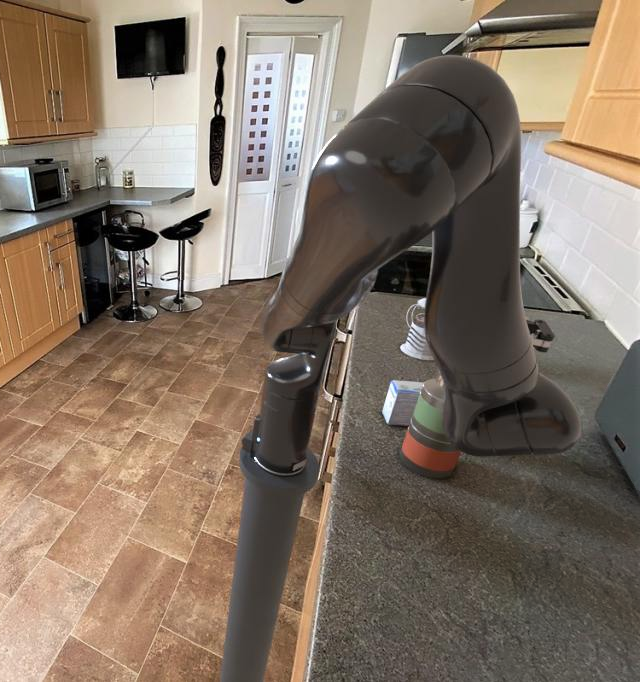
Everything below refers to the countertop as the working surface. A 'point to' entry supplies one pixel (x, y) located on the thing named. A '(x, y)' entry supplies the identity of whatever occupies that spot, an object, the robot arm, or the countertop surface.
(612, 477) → the countertop surface
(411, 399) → the medicine box
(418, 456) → the tin stack
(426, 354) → the french press
